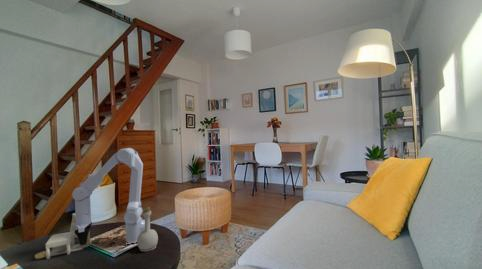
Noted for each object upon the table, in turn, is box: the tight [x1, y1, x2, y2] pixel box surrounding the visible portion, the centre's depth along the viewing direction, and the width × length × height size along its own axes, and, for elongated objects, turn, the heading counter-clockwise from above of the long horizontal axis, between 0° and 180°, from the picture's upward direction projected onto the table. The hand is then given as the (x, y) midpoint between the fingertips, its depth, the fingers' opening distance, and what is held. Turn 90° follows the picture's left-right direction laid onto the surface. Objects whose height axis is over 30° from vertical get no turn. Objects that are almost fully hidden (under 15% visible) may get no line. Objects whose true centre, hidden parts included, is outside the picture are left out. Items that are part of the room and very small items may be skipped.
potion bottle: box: [136, 206, 159, 253], centre depth 101 cm, size 9×9×18 cm
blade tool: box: [50, 230, 91, 257], centre depth 101 cm, size 14×5×6 cm, turn 118°
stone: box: [69, 212, 78, 239], centre depth 116 cm, size 10×5×12 cm, turn 65°
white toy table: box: [45, 231, 75, 260], centre depth 100 cm, size 8×10×6 cm
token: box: [34, 250, 46, 260], centre depth 97 cm, size 5×5×1 cm
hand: (84, 242), depth 104 cm, fingers open, 5 cm apart
